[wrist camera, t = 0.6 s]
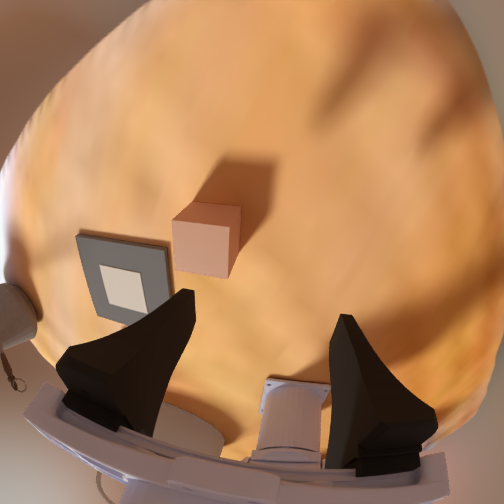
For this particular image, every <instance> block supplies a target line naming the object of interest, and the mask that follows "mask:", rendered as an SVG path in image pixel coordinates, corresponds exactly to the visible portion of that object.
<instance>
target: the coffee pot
mask: <svg viewBox="0 0 504 504" xmlns="http://www.w3.org/2000/svg"><path fill="white" fill-rule="evenodd" d="M36 319H37V315H36V311H35V309H34V307H33V305H32V303H31V302H30V300H29V299H28V297H27V296H26V295H25V294H24V292H23V291H22V290H21V289H19V288H18V287H17V286H15V285H10V284H6V283H2V284H0V356H1V360H2V364H3V367H4V371H5V372H6V374H7V376H8V381H9V382H10V383H11V386H12V387H13V389H14V390H17V391H19V390H18V389H17V384H16V382H15V380H17V379H19V380H22V379H20V378H16V379H15V377H14V376H13V374H12V369H11V367H10V365H9V363H8V360H7V358H6V356H5V354H4V351H3V350H5V349H8V348H10V347H13V346H15V345H18V344H20V343H23V342H25V341H28V340H31V339H33V338H34V337H35V335H36V332H37V320H36ZM22 381H23V380H22ZM23 382H24V381H23ZM24 383H25V382H24ZM26 389H27V388H25V390H23V391H19V392H24V391H26Z"/></svg>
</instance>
